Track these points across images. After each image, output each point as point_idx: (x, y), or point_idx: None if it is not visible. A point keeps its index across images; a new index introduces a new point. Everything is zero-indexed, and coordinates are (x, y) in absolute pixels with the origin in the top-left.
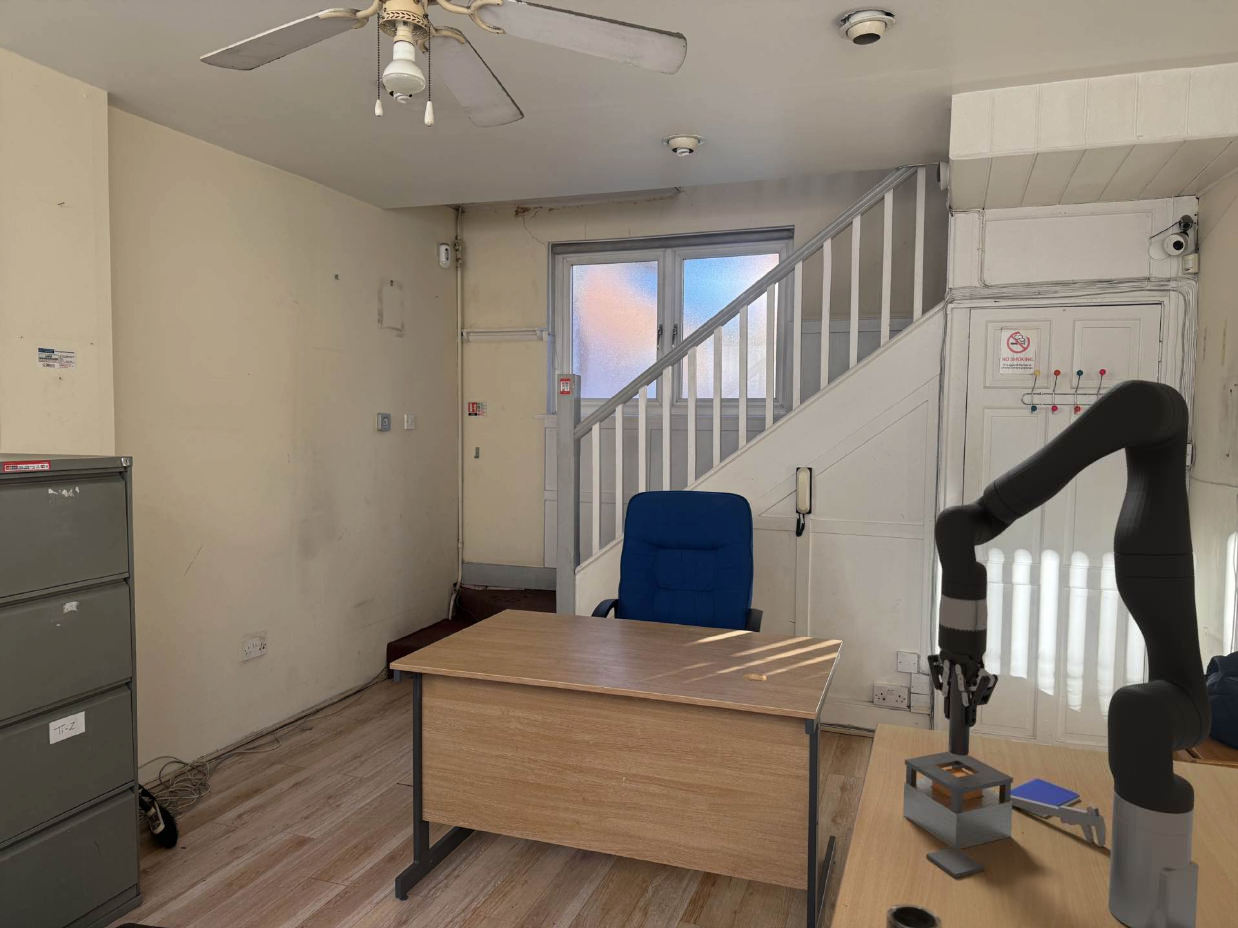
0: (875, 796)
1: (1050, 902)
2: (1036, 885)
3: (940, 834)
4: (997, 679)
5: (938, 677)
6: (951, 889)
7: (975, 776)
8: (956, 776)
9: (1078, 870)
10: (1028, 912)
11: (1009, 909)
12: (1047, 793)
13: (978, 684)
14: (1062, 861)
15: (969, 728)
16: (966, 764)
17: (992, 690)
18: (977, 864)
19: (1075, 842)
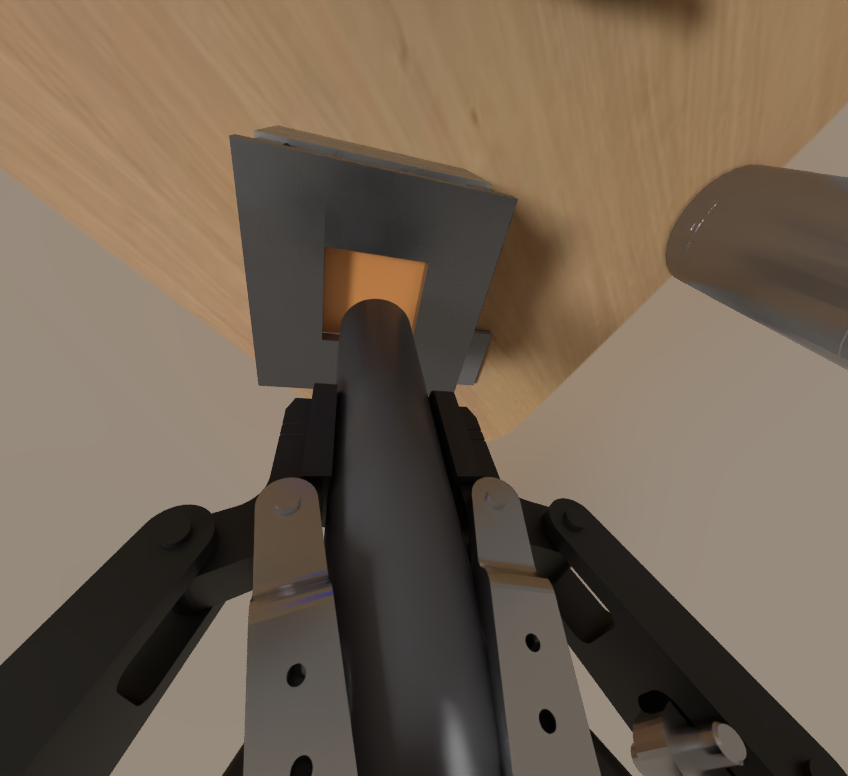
0: (182, 296)
1: (588, 320)
2: (562, 299)
3: None
4: (835, 770)
5: (170, 677)
6: (482, 401)
7: (435, 301)
8: (370, 293)
9: (612, 178)
10: (570, 363)
11: (550, 376)
12: None
13: (628, 722)
14: (581, 172)
15: (421, 374)
16: (364, 249)
17: (693, 627)
18: (481, 340)
19: (590, 18)
